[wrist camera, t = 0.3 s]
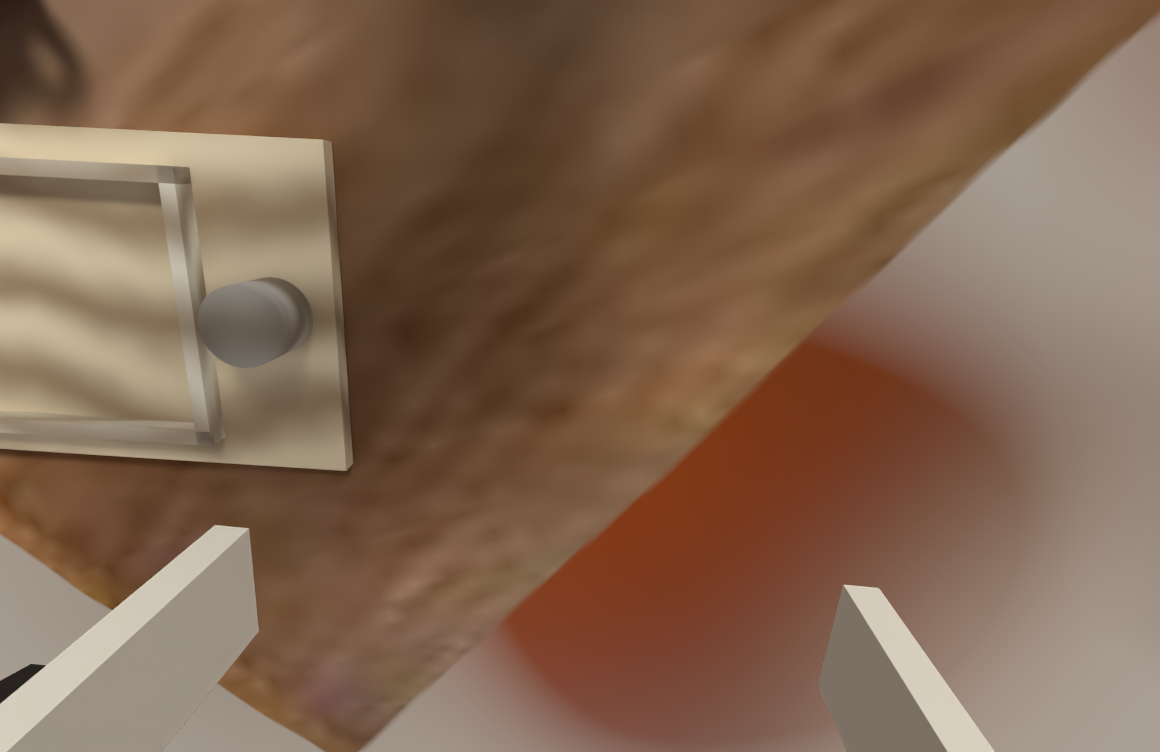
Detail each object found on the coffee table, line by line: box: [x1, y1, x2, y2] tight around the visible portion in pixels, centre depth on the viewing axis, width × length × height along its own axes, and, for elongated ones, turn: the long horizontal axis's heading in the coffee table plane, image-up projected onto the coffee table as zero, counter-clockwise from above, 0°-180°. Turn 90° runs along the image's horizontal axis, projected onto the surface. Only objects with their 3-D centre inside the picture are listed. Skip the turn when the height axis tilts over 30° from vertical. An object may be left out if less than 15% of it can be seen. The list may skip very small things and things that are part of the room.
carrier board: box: [0, 123, 353, 471], centre depth 37 cm, size 22×28×5 cm
